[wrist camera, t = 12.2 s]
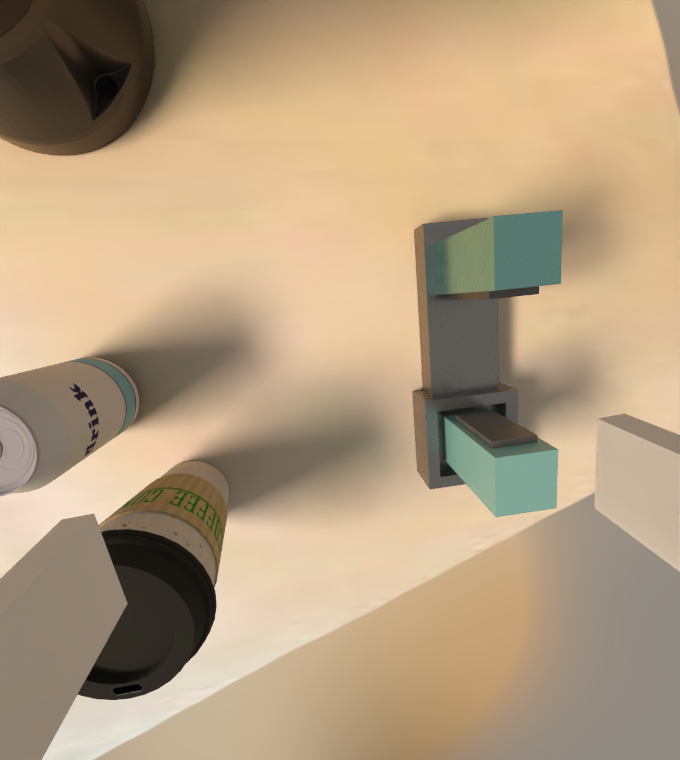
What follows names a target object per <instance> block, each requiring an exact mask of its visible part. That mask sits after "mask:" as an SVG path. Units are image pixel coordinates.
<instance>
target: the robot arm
mask: <svg viewBox="0 0 680 760" xmlns="http://www.w3.org/2000/svg"><path fill="white" fill-rule="evenodd" d="M153 65H154V47H153V37H152V30H151V26H150V21H149V18H148V14H147V11H146V8H145V5H144V2H143V0H0V138H2V139H3V140H5V141H7V142H9V143H11V144H13V145H16V146H18V147H21V148H24V149H26V150H30V151H33V152H37V153H42V154H48V155H75V154H81V153H86V152H89V151H92V150H95V149H98V148H100V147H102V146H104V145H106V144H108V143H109V142H111V141H113V140H114V139H115V138H117V137H118V136H119V135H121V134H122V133H123V132H124V131H125V130H126V129H127V128H128V127H129V126H130V124H131V123H132V122H133V121H134V119H135V118H136V116H137V115H138V114H139V112H140V110H141V108H142V106H143V104H144V102H145V100H146V97H147V94H148V92H149V88H150V84H151V80H152V74H153ZM595 509H597V510H598V511H599V512H601V513H602V514H603V515H605V516H606V517H607V518H609V519H610V520H611V521H613V522H614V523H616V524H617V525H618V526H620V527H621V528H622V529H623V530H625V531H626V532H628V533H629V534H630V535H631V536H633V537H634V538H635V539H637V540H638V541H639V542H641V543H642V544H644V545H645V546H646V547H647V548H649V549H650V550H651V551H653V552H654V553H656V554H657V555H658V556H659V557H661V558H662V559H663V560H665V561H666V562H668V563H669V564H670V565H671V566H673V567H674V568H676V569H677V570H678V571H679V572H680V435H678V434H676V433H673V432H670V431H668V430H665V429H663V428H660V427H658V426H655V425H652V424H650V423H647V422H645V421H642V420H639V419H637V418H634V417H632V416H629V415H626V414H620V415H615V416H610V417H604V418H599V419H598V421H597V452H596V482H595ZM127 604H128V603H127V601H126V598H125V595H124V593H123V590H122V587H121V585H120V582H119V579H118V577H117V574H116V571H115V569H114V566H113V563H112V561H111V558H110V555H109V553H108V550H107V547H106V544H105V542H104V539H103V536H102V534H101V531H100V528H99V526H98V523H97V520H96V518H95V515H94V514H90V515H84V516H79V517H74V518H68V519H63V520H61V521H60V522H59V523H58V524H57V525H56V526H55V527H54V528H53V529H52V530H51V531H50V532H49V533H48V534H46V535H45V536H44V537H43V538H42V539H41V540H40V541H39V542H38V543H37V544H36V545H35V546H34V547H33V548H32V549H31V550H30V551H29V552H28V553H27V554H26V555H25V556H24V557H23V558H22V559H21V560H20V561H18V562H17V563H16V564H15V565H14V566H13V567H12V568H11V569H10V570H9V571H8V572H7V573H6V574H5V575H4V576H3V577H2V578H1V579H0V760H42V758H43V756H44V754H45V752H46V751H47V749H48V747H49V745H50V743H51V742H52V740H53V738H54V736H55V734H56V732H57V731H58V729H59V727H60V725H61V723H62V722H63V720H64V718H65V716H66V714H67V713H68V711H69V709H70V707H71V705H72V703H73V702H74V700H75V698H76V696H77V694H78V693H79V691H80V689H81V687H82V685H83V683H84V682H85V680H86V678H87V676H88V674H89V673H90V671H91V669H92V667H93V665H94V664H95V662H96V660H97V658H98V656H99V654H100V653H101V651H102V649H103V647H104V645H105V644H106V642H107V640H108V638H109V636H110V635H111V633H112V631H113V629H114V627H115V625H116V624H117V622H118V620H119V618H120V616H121V615H122V613H123V611H124V609H125V607H126V606H127Z"/></svg>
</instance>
